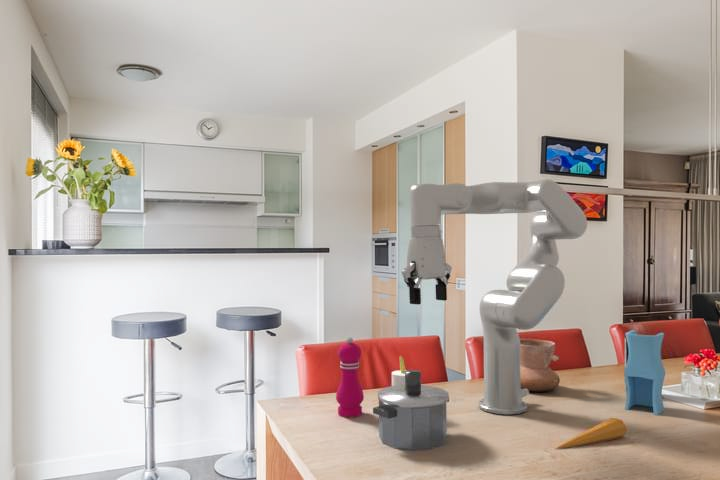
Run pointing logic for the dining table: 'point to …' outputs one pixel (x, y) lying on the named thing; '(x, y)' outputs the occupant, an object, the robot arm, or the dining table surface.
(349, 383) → the pepper mill
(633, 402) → the blue tall piece
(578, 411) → the dining table surface
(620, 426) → the carrot
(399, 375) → the candle
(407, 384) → the lid
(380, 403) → the pot
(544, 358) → the ceramic jug
